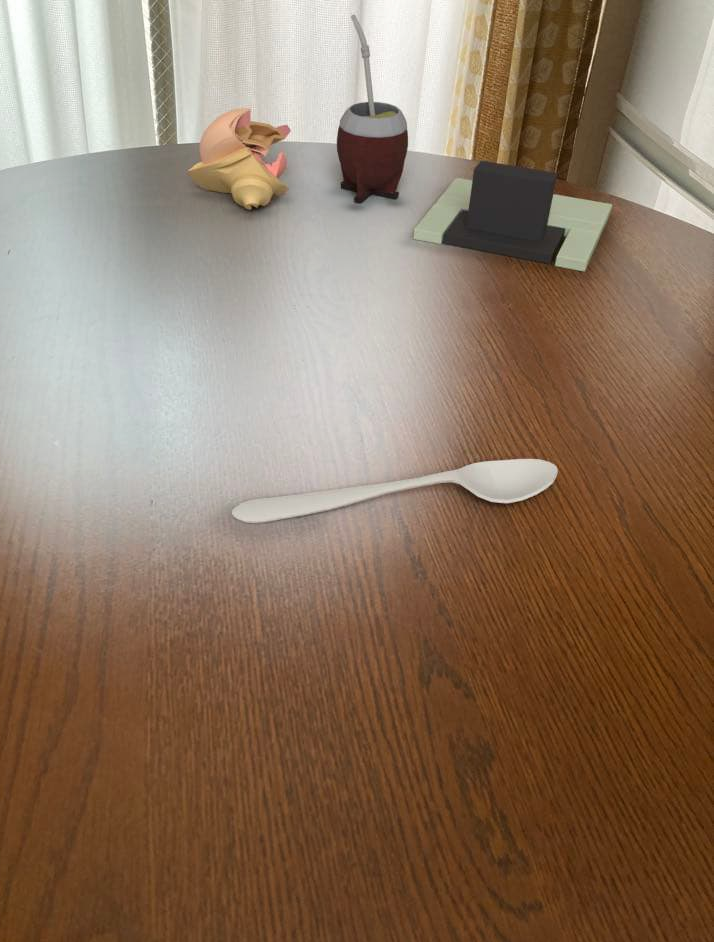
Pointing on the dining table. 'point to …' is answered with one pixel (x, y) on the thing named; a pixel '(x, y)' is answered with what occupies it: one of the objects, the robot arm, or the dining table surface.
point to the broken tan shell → (240, 159)
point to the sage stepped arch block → (566, 212)
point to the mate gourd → (371, 141)
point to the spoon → (482, 479)
